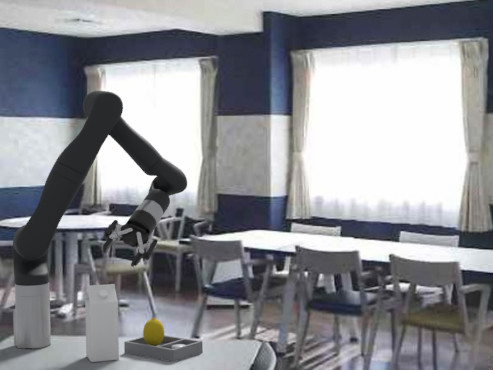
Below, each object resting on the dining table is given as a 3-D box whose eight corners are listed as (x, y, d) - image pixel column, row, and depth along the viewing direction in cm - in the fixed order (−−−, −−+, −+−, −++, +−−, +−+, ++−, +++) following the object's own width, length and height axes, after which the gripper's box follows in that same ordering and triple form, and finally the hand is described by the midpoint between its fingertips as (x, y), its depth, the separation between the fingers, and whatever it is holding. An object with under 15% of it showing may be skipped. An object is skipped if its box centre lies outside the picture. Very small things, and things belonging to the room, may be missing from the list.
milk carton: (86, 356, 216) (84, 283, 215) (113, 353, 218) (112, 281, 217) (91, 362, 209) (89, 287, 208) (119, 360, 212) (117, 285, 211)
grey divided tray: (124, 353, 219) (124, 341, 219) (154, 344, 228) (153, 333, 228) (173, 361, 209) (173, 350, 209) (202, 352, 218) (202, 341, 218)
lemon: (167, 348, 219) (166, 318, 218) (146, 351, 217) (146, 320, 216) (161, 344, 224) (160, 315, 223) (141, 346, 222) (140, 316, 221)
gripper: (124, 199, 235) (96, 238, 224) (169, 221, 234) (143, 261, 222) (121, 216, 240) (93, 254, 229) (165, 237, 239) (139, 277, 228)
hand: (118, 257), depth 226 cm, fingers open, 8 cm apart
